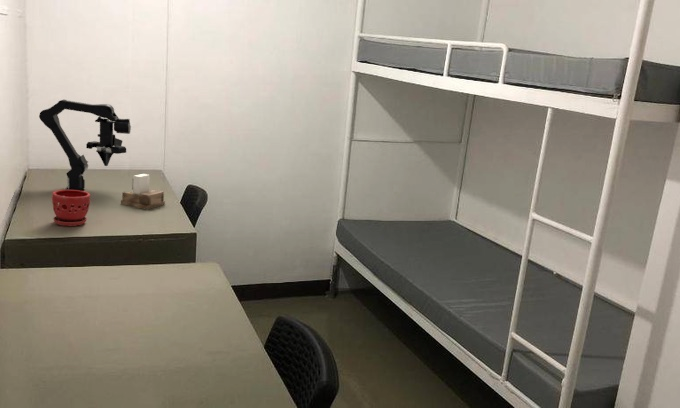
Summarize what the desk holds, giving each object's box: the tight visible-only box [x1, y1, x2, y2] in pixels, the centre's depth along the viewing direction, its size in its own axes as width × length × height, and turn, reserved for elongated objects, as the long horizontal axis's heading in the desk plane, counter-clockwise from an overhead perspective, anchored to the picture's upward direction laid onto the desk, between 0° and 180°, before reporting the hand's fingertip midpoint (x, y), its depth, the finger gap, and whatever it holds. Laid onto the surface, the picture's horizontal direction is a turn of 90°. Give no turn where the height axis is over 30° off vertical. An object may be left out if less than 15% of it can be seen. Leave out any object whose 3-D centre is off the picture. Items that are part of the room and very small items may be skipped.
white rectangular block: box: [131, 173, 151, 195], centre depth 273 cm, size 4×6×11 cm
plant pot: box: [51, 189, 91, 227], centre depth 237 cm, size 13×13×12 cm
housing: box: [120, 189, 166, 210], centre depth 274 cm, size 14×12×6 cm
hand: (106, 165), depth 288 cm, fingers closed
